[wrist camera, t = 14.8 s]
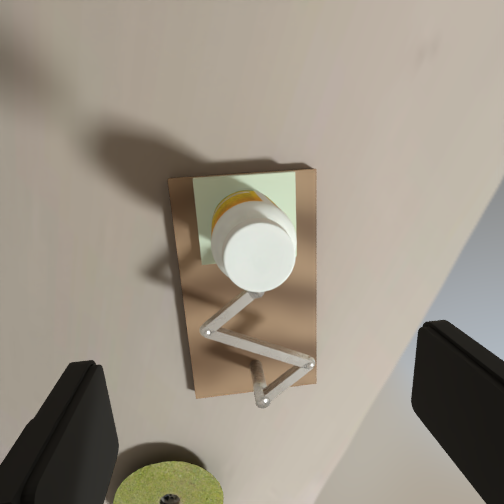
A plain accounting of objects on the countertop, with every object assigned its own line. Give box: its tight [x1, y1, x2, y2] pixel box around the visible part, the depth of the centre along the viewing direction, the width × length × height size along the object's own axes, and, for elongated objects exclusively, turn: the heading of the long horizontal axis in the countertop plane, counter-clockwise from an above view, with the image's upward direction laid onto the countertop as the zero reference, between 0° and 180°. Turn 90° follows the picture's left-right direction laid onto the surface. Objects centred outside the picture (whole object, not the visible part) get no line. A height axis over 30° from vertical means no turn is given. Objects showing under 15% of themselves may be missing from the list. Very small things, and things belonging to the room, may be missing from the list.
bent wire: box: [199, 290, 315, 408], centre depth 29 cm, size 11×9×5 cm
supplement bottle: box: [211, 190, 297, 292], centre depth 23 cm, size 5×5×10 cm
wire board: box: [168, 168, 316, 399], centre depth 31 cm, size 21×12×1 cm, turn 3°
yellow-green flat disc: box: [113, 461, 223, 504], centre depth 37 cm, size 11×11×2 cm
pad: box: [193, 171, 297, 265], centre depth 28 cm, size 7×8×1 cm
